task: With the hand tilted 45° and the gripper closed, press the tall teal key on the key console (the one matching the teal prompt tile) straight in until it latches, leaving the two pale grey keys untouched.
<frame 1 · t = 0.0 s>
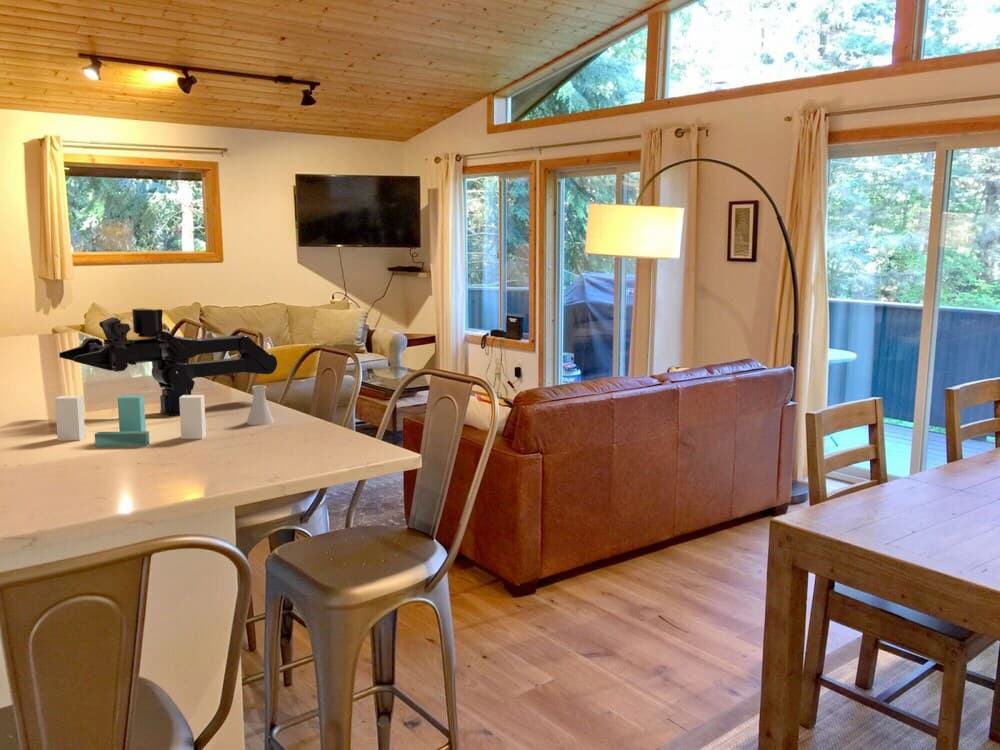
hand: (66, 357, 187), 17 cm above the kitchen island, tool horizontal, fingers open, 9 cm apart
flask: (260, 429, 192), on the kitchen island
grey key 1: (70, 418, 172), point 6 cm above the kitchen island, slide at 0.0 cm
key console: (133, 444, 174), on the kitchen island
grey key 2: (192, 416, 175), point 6 cm above the kitchen island, slide at 0.0 cm
teal key: (132, 417, 173), point 6 cm above the kitchen island, slide at 0.0 cm
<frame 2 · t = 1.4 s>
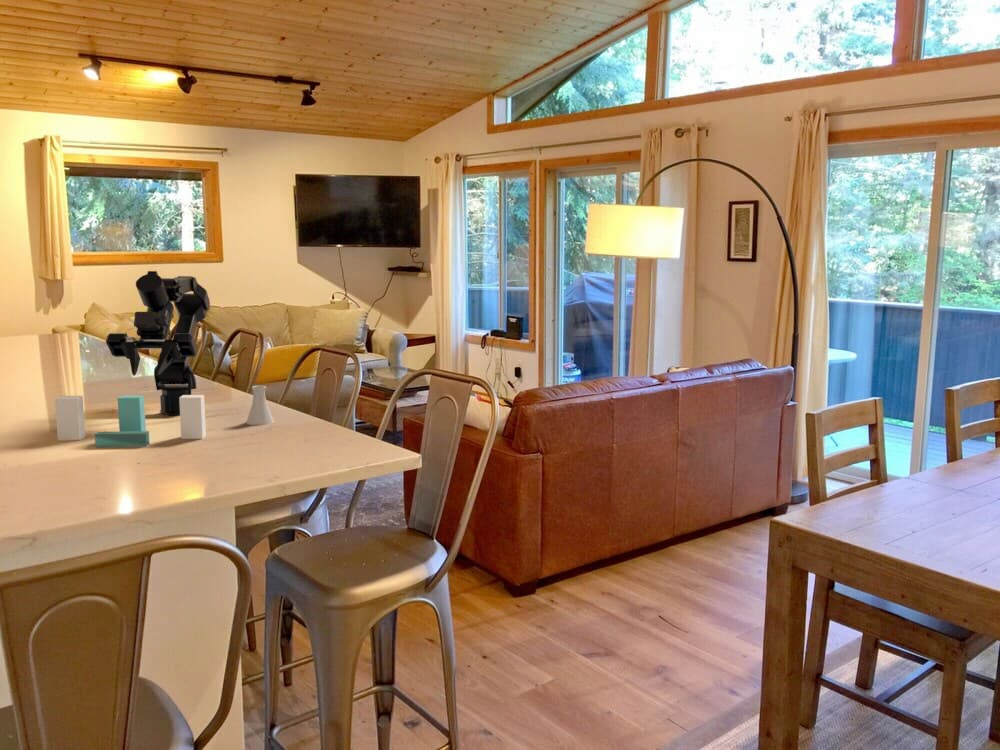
hand: (145, 374, 183), 14 cm above the kitchen island, tool tilted 45°, fingers open, 5 cm apart
nothing on the kitchen island moved.
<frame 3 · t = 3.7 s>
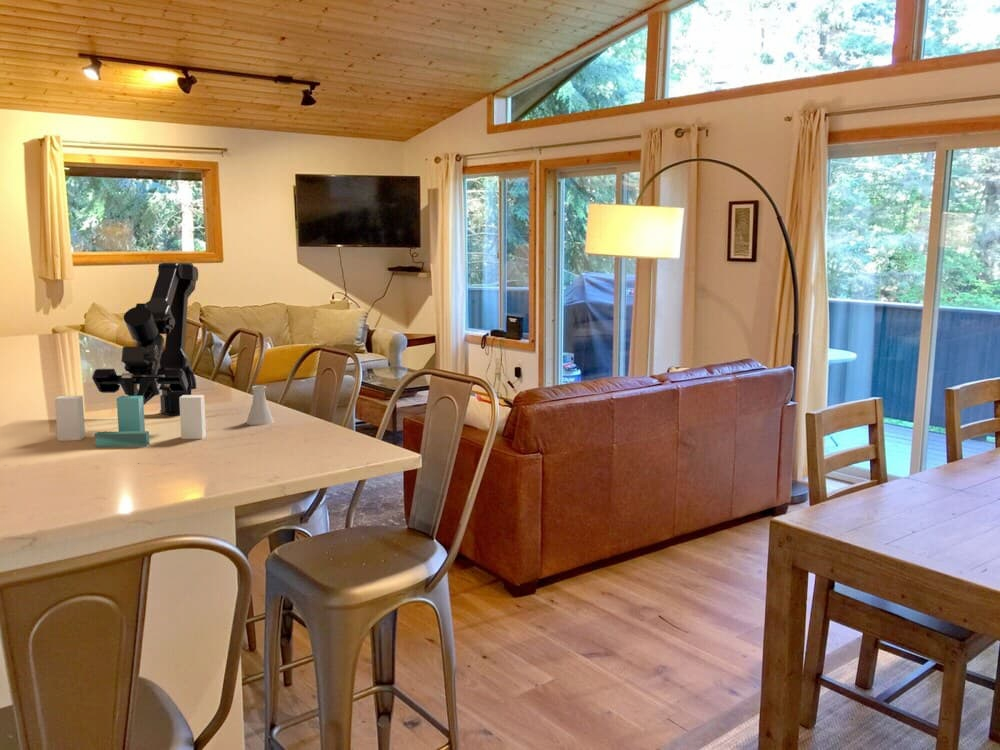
hand: (133, 412, 175), 7 cm above the kitchen island, tool tilted 45°, fingers closed, pressing on teal key
teal key: (131, 417, 173), point 6 cm above the kitchen island, slide at 0.6 cm, touching gripper
everything else where it was.
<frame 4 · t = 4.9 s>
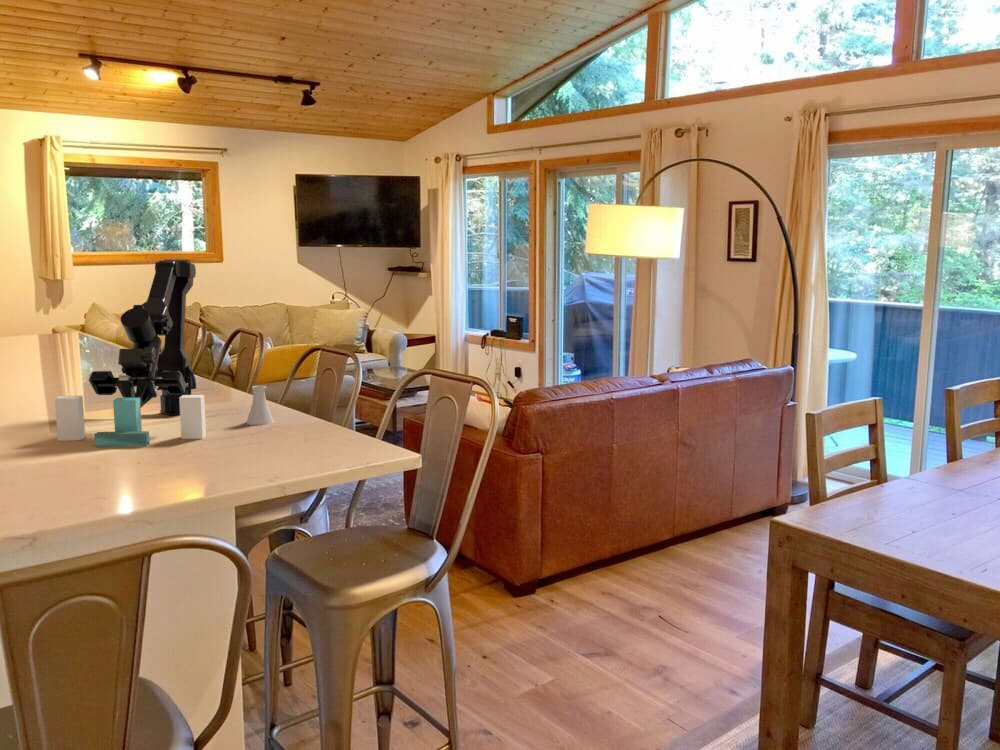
hand: (130, 415, 173), 7 cm above the kitchen island, tool tilted 45°, fingers closed
teal key: (127, 420, 171), point 6 cm above the kitchen island, slide at 2.6 cm
everything else where it was.
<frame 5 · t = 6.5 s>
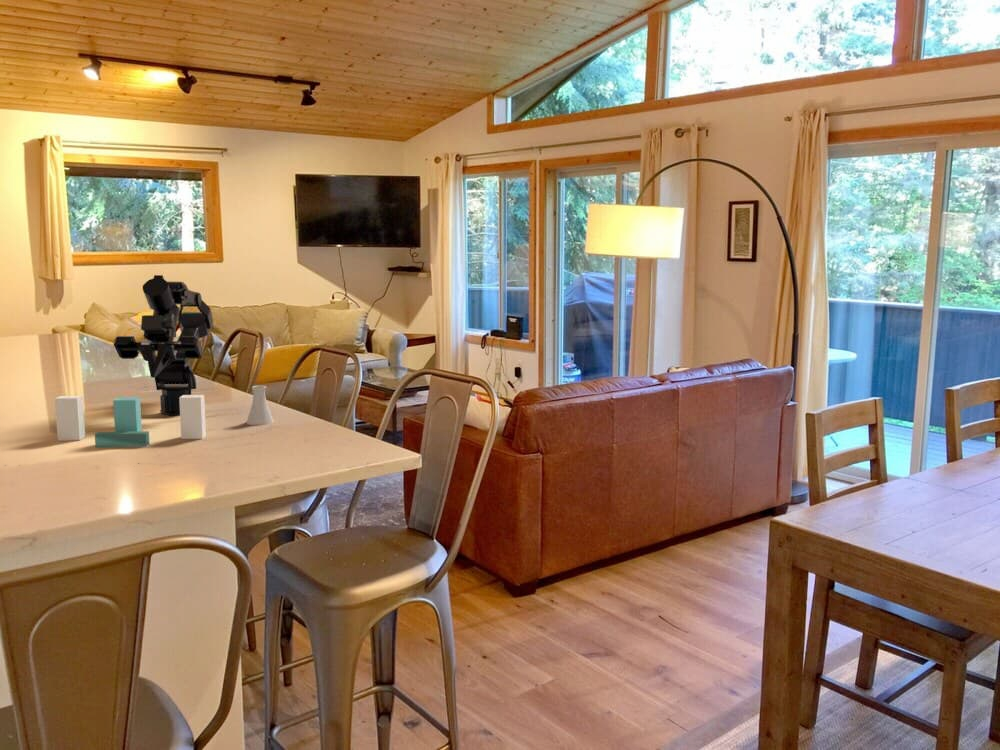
hand: (152, 376, 188), 12 cm above the kitchen island, tool tilted 45°, fingers closed
nothing on the kitchen island moved.
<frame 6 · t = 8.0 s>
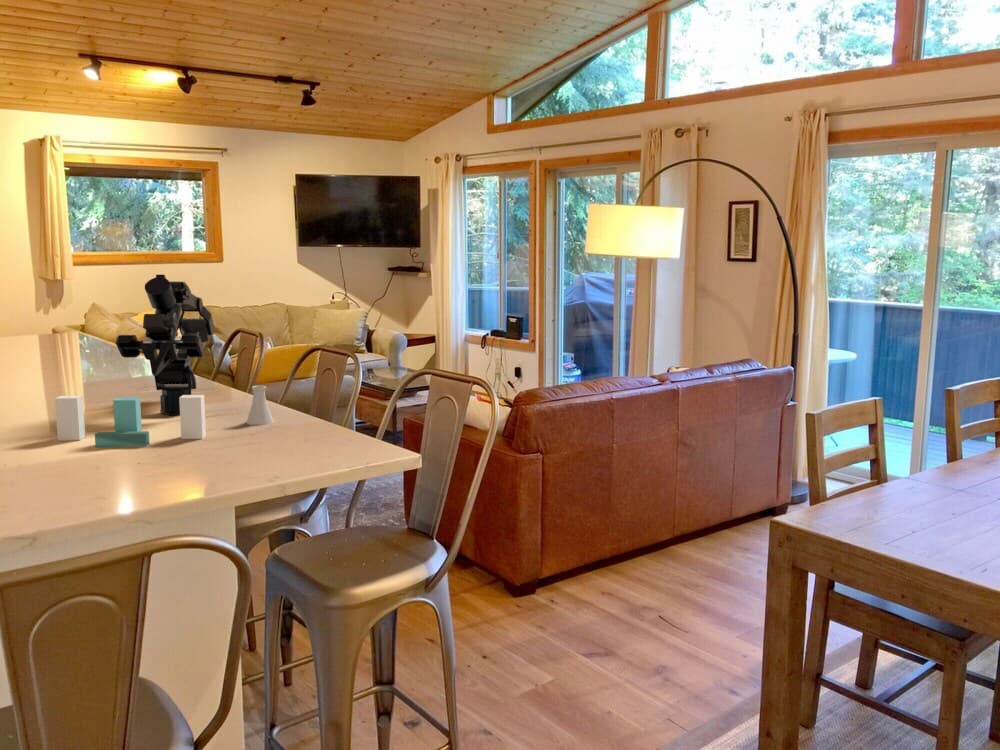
hand: (154, 374, 189), 13 cm above the kitchen island, tool tilted 45°, fingers closed
nothing on the kitchen island moved.
at the end: teal key slide at 2.6 cm; grey key 2 slide at 0.0 cm; grey key 1 slide at 0.0 cm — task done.
